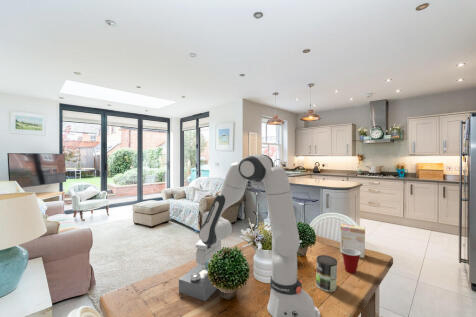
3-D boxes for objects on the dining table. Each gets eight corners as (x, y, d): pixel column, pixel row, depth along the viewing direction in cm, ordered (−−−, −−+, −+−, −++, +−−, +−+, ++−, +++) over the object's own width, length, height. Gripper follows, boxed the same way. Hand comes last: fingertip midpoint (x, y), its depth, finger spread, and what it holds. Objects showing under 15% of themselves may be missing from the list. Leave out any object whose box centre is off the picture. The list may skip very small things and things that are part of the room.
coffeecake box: (364, 254, 154) (365, 226, 154) (364, 258, 148) (364, 229, 148) (341, 249, 162) (341, 223, 162) (339, 253, 156) (340, 225, 156)
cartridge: (207, 273, 124) (208, 258, 124) (215, 275, 122) (215, 260, 121) (195, 284, 113) (195, 268, 113) (203, 287, 111) (203, 270, 111)
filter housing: (199, 274, 126) (200, 263, 126) (223, 281, 119) (224, 269, 119) (178, 292, 110) (178, 279, 110) (205, 301, 103) (205, 287, 103)
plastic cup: (351, 265, 139) (352, 246, 139) (364, 274, 128) (365, 254, 128) (336, 266, 137) (336, 247, 137) (348, 276, 126) (349, 255, 126)
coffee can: (320, 291, 112) (320, 264, 111) (313, 280, 122) (313, 254, 122) (340, 292, 112) (341, 264, 112) (331, 280, 122) (332, 255, 122)
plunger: (202, 287, 110) (202, 274, 110) (196, 292, 106) (196, 279, 106) (194, 284, 112) (194, 272, 112) (188, 289, 108) (188, 276, 108)
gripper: (214, 233, 131) (214, 256, 131) (193, 246, 113) (193, 272, 113) (224, 235, 128) (223, 258, 129) (204, 248, 110) (203, 275, 110)
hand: (209, 265), depth 121 cm, fingers open, 8 cm apart
